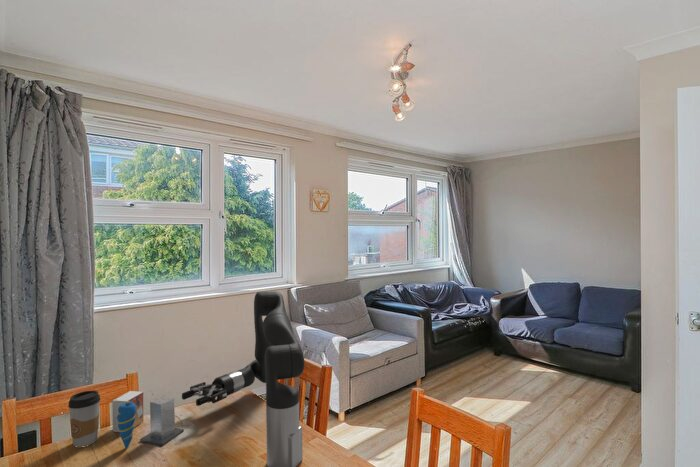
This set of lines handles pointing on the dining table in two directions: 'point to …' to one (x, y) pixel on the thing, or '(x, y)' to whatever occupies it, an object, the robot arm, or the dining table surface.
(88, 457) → the dining table surface
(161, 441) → the grey plate with post
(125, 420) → the ornament
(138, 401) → the small box
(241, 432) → the dining table surface
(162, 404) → the brushed metal pedestal
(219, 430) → the dining table surface
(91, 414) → the coffee cup
